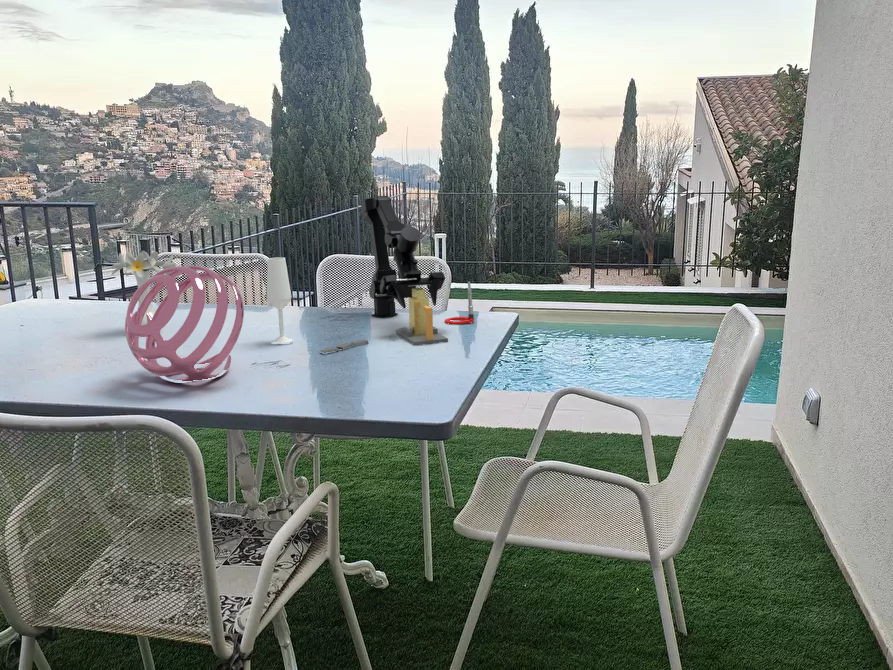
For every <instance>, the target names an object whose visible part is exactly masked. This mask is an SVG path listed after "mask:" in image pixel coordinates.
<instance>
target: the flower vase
mask: <svg viewBox="0 0 893 670" xmlns="http://www.w3.org/2000/svg"><path fill="white" fill-rule="evenodd" d="M124 255H125V256H124ZM158 258H159V252H157V251H153V252H152V253H151V254H150V255H149V254H148V252H146V251H145V250H141V252H140V253H139V254H137V256H136V257H134V256H133V254H132V252H130V251H127V252H126V254H124V252H123V253H121V252H119V254H118V256H117V261H118V262H115V263H114V264H113V265H112V266H111V269H114V270H113V271H112V272H111V276H113V275H115V274H116V273H117V272H118V271H120V270H121V269H124V274H125V276H126V277H129V276H130V275H131V274H133V275H134V277H135V279H136V284H137V285H136V286H137V289H138V288H139V287H140V286H141V285H142V284H143V283H144V282H145V281H147V280H148V279H149V274H150V271H149V270H152V271H153V272H156V273H158V272H160V271H162V270H164V269H167V268H170V267H176V266H177V265H176V263H175V262H172V261H173V259H174V254H171V255H170V256H169V257H168V259H167V260H166V261H165V262H163V261H162V260H157V259H158ZM160 267H161V268H162V269H161V268H160ZM171 272H172V271H171ZM171 272H168V273H165V275H168V274H169V273H171ZM149 291H150V288H149V286H148V287H147V289H146V290H145V291H144V292H143V294H142V295H141V297H140V298H139V300H138V304H137V305H138V306H137V309H136V311H138V309H139V307H140V305H141V303H142V301H143V300H144V298H145V297H146V295H147V294H148V293H149ZM156 310H157V309H155V307H154V306H153V303H152V302H151V303H150V305H149V307H148V308H147V310H146V312H145V315H144V317H143V320H142V323H141V325H146V324H147V316H146V313H147V312H148V313H149V314H150V316H151V318H153V316H154V314H155V312H156Z"/></svg>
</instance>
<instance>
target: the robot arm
mask: <svg viewBox="0 0 893 670" xmlns="http://www.w3.org/2000/svg"><path fill="white" fill-rule="evenodd" d="M360 203H361V204H360V207H361V208H360V209H361V212H362V213H363V214H362V215H363V219H364V220H365V221H366V222H367V223H368V225H369V227H370V234H371V242H372V249H373V256H374V263H375V270H374V272H373V275H372V277H371V279H372V280H371V283H370V287H369V290H368V291H369V297H370V299H372V300H373V305H374V306H373V309H374V310H373V311H374V313H371V315H370V316H371V317H378V318H384V319H385V317H387V318H390V317H393V316H392V315H394V316H396V315H395V314H399V313H398V312H396V302H395V300H396V301H397V302H398V304H399V305H400V306H401V308H402V309H406V307H407V305H406V299H407V298H408V299H409V297H412V288H417V286H419V287H420V286H426V287H427V289H428V290H427V292H428V293H429V295H430V297H431V302H432V304H433V306H434V307H435V306H437V296H438V291H439V290H441V289H442V288H443V286H444V282H445V280H446V276H445V274H444V272H443V271H433V272H432V271H431V272H430V273H429V275H428V277H422V276H421V275H422V271H421V270H419V266H418V259H416V258H415V255H414V252H417V249H418V245H419V244H420V243H419V242H420V240H421V237H422V233H421V231H419V229H417V227H414V226H412V224H411V223H402V222H400V220H399V218H398V216H397V214H396V212H395V209H394V207H393V205H392V200H391V197H390V196H388V195H376V196H373V197H365V198H364V200H362V201H361V202H360ZM388 248H389V249H393V252H392V255H393V261H394V262H395V264H396V267H397V271H396V269H393V268H392V267H391V263H390V258H389V257H390V256H389V250H388ZM397 276H398V277H397ZM389 316H390V317H389Z"/></svg>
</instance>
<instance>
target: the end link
mask: <svg viewBox="0 0 893 670" xmlns="http://www.w3.org/2000/svg"><path fill="white" fill-rule="evenodd" d="M423 306H429V307H430V298H429V297H427V296H426V290H425V289H424V288H421V287H416V288H412V297H409V298H408V319H409V320H408V321H409V329H410V331H412V334H413V335H414V336H418V335H426V329H425V311H424V310H423Z"/></svg>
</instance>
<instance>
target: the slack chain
mask: <svg viewBox="0 0 893 670" xmlns="http://www.w3.org/2000/svg"><path fill="white" fill-rule="evenodd" d="M352 345H353V346H352ZM364 345H369V340H368V339H365V338H364V339H359V340H353V341H350V343H348V342H344V343H341V344H339V345H337V346H336V347H335V346H332V347H329V348H324V349H320V350H319V352H320V351H321V352H324V353H326V352H332V351H340V350H339V349H342V350H343V349H346V348H348V349H350V348H349V347H351V348H353V347H355V346H356V347H360V346H364ZM346 350H347V349H346ZM343 351H344V350H343Z"/></svg>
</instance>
